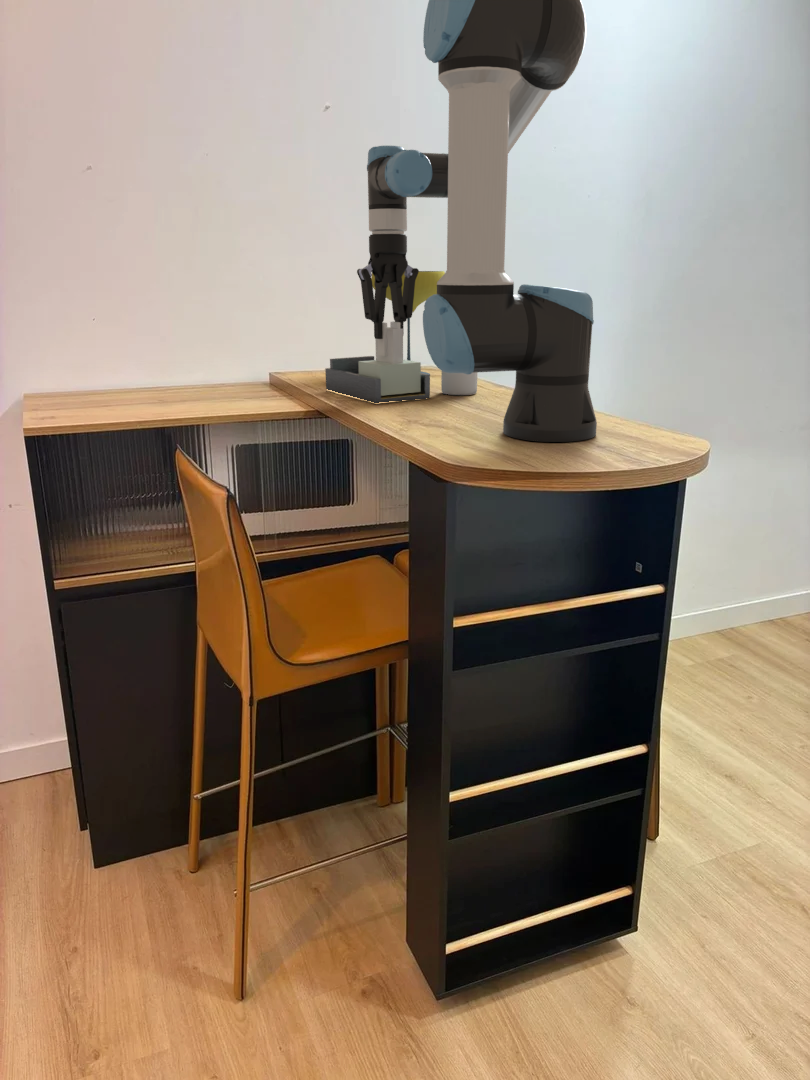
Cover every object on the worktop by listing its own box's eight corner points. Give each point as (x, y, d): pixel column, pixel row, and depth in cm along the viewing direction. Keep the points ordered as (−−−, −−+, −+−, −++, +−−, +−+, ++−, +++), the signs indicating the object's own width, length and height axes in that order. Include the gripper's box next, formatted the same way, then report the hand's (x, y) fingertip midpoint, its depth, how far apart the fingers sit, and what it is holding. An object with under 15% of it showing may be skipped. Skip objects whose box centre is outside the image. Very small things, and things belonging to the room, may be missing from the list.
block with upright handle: (420, 391, 171) (420, 328, 166) (380, 395, 166) (379, 330, 162) (397, 386, 178) (397, 325, 174) (359, 390, 173) (357, 327, 169)
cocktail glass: (457, 373, 210) (458, 271, 202) (420, 381, 196) (421, 271, 188) (397, 369, 220) (397, 271, 212) (359, 377, 205) (356, 271, 197)
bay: (429, 398, 171) (429, 364, 169) (375, 404, 165) (375, 369, 162) (376, 386, 189) (376, 355, 187) (326, 391, 182) (325, 359, 180)
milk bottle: (478, 396, 174) (480, 298, 168) (441, 396, 175) (442, 298, 168) (475, 390, 182) (477, 296, 175) (440, 390, 182) (441, 296, 176)
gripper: (410, 234, 169) (411, 351, 176) (344, 233, 161) (347, 355, 169) (431, 233, 163) (430, 354, 170) (362, 232, 155) (365, 358, 163)
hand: (389, 354), depth 169 cm, fingers closed on block with upright handle, 2 cm apart
